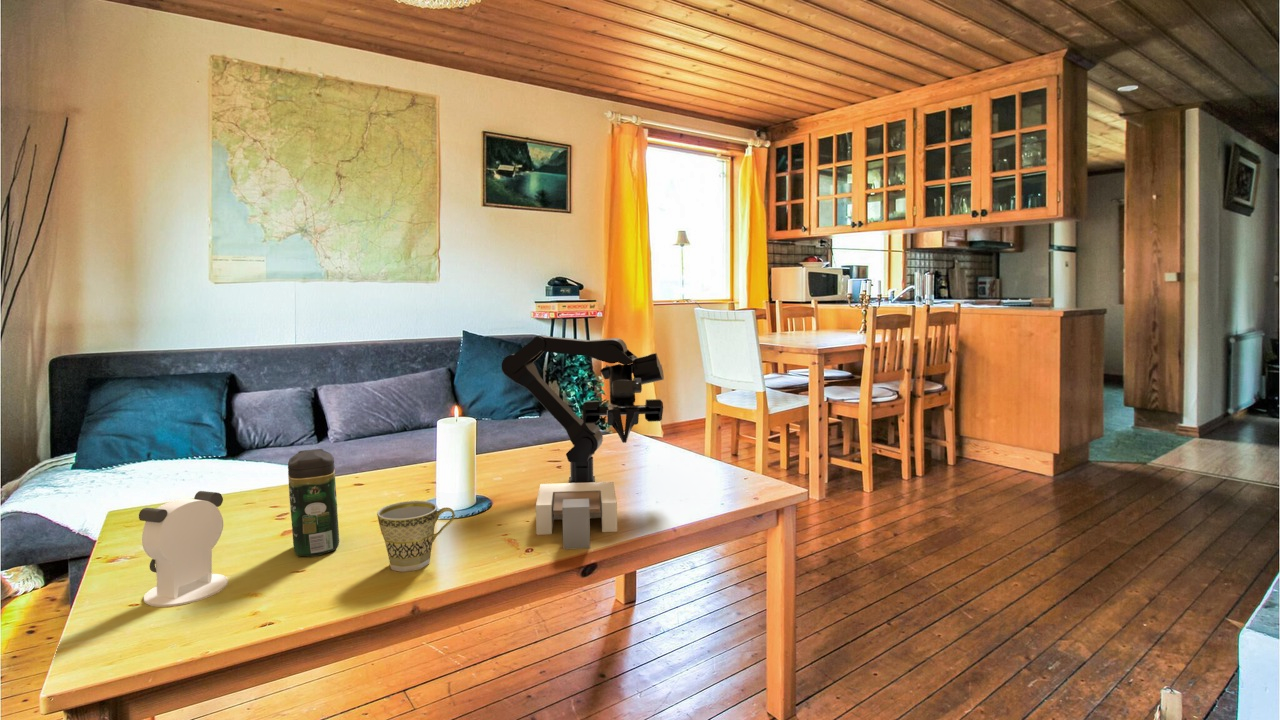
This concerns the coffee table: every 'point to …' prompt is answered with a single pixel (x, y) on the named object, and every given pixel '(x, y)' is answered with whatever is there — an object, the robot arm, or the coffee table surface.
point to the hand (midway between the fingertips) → (624, 441)
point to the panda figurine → (183, 549)
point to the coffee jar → (313, 502)
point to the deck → (548, 491)
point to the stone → (576, 523)
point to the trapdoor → (591, 495)
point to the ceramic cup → (410, 533)
